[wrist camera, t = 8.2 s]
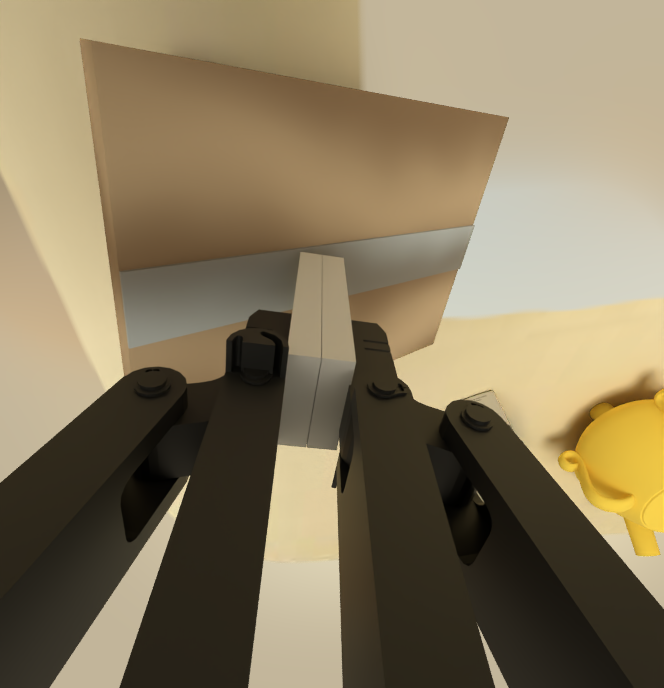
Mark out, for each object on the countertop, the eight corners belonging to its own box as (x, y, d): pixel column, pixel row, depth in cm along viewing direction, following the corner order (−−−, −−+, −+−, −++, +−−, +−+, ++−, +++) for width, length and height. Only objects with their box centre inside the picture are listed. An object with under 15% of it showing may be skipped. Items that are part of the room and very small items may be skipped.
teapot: (597, 493, 49) (663, 590, 40) (528, 440, 44) (584, 537, 35) (720, 421, 43) (832, 515, 34) (656, 352, 39) (764, 440, 29)
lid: (79, 37, 9) (92, 41, 8) (493, 114, 20) (510, 117, 19) (134, 449, 15) (143, 465, 15) (422, 337, 26) (434, 344, 26)
